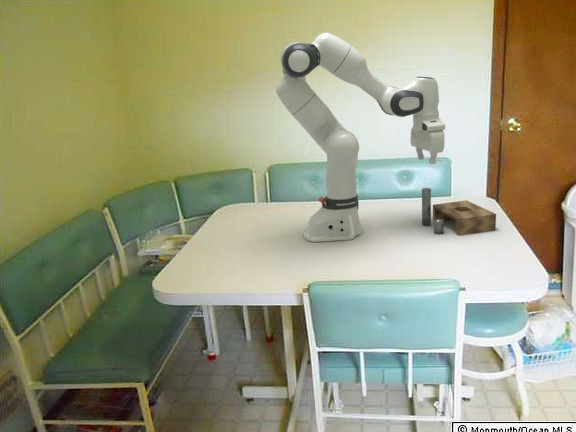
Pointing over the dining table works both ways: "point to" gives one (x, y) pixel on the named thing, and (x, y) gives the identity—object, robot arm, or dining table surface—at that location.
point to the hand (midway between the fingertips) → (426, 161)
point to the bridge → (466, 216)
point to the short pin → (438, 226)
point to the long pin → (426, 207)
